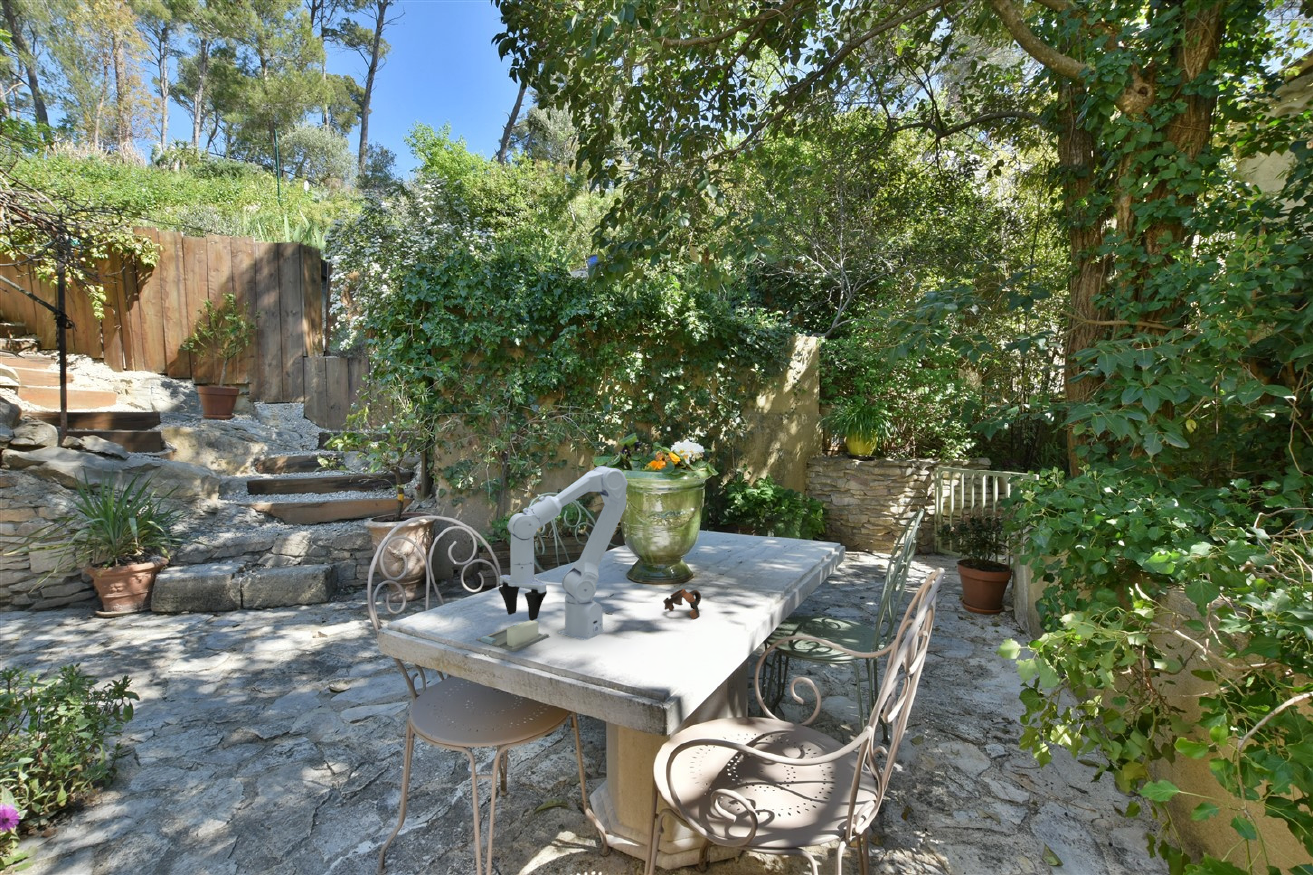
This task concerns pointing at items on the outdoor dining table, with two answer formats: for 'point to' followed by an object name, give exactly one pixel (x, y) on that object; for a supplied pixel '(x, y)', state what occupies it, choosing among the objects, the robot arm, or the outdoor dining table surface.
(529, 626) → the cream foam block
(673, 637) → the outdoor dining table surface
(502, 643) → the duct plate
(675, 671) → the outdoor dining table surface
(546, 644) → the outdoor dining table surface
